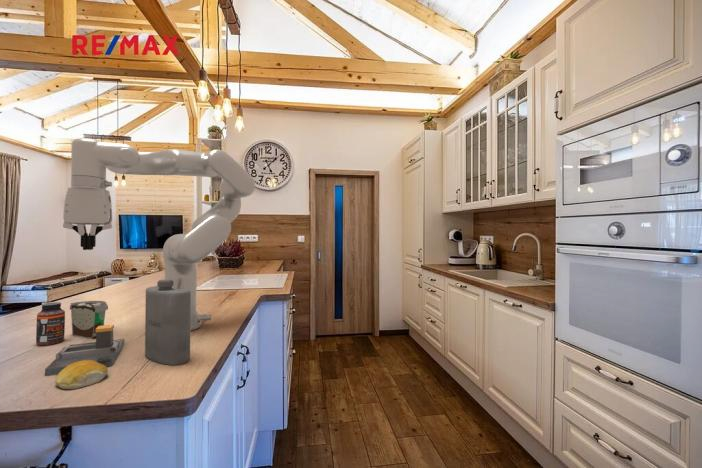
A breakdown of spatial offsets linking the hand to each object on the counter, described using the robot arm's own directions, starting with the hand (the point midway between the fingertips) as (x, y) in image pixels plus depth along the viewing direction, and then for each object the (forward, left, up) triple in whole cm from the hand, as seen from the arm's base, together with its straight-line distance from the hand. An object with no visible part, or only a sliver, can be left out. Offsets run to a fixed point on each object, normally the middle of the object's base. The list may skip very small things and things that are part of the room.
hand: (88, 249), depth 89 cm
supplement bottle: (+10, -8, -27) cm, 30 cm away
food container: (+1, -12, -27) cm, 30 cm away
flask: (-20, +19, -27) cm, 39 cm away
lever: (-6, +11, -25) cm, 28 cm away
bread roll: (-5, +26, -28) cm, 38 cm away
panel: (-3, +11, -27) cm, 29 cm away
